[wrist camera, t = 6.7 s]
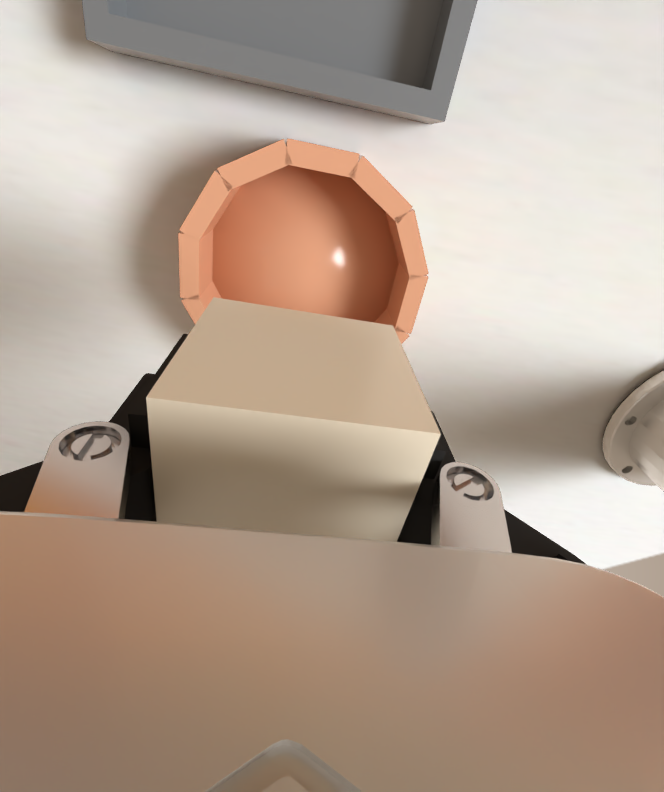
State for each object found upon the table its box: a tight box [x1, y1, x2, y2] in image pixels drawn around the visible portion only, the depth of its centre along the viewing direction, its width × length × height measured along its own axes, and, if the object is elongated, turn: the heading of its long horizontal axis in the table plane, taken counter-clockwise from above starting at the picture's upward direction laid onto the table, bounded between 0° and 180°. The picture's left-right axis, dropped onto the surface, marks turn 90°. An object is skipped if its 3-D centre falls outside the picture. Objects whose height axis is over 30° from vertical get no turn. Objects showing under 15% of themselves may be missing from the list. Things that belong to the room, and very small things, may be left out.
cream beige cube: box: [146, 297, 441, 542], centre depth 10 cm, size 5×5×5 cm
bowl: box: [178, 138, 428, 344], centre depth 23 cm, size 13×13×4 cm
